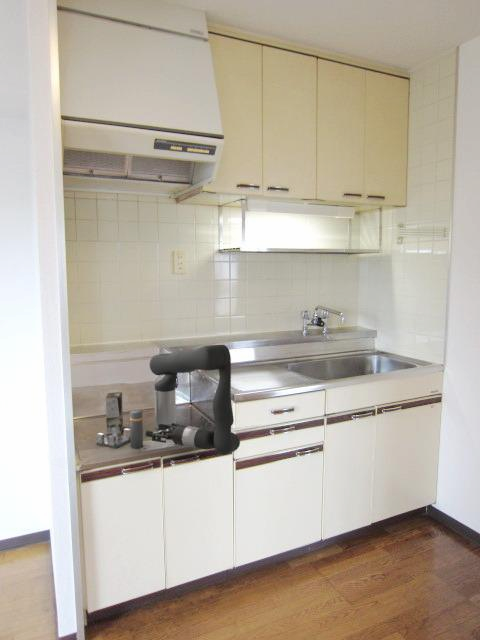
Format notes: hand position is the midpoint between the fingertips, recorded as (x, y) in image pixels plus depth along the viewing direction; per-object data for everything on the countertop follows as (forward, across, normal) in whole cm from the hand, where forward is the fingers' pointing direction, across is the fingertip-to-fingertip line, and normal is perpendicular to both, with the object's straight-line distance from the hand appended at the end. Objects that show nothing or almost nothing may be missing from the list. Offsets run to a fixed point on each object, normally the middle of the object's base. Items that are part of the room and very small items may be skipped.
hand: (152, 429), depth 178 cm
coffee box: (+28, -10, +8) cm, 31 cm away
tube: (+8, 0, +8) cm, 11 cm away
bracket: (+19, 0, +8) cm, 20 cm away
